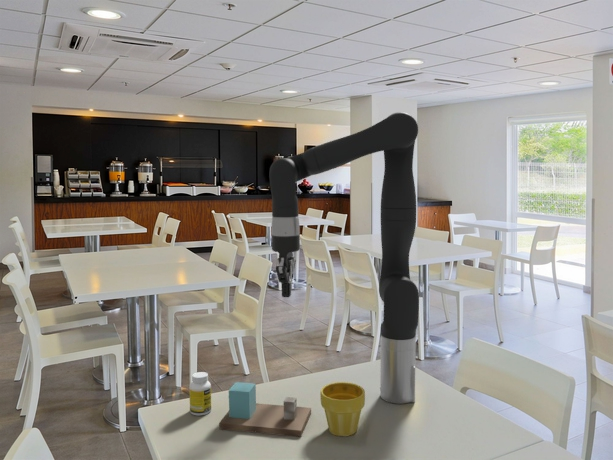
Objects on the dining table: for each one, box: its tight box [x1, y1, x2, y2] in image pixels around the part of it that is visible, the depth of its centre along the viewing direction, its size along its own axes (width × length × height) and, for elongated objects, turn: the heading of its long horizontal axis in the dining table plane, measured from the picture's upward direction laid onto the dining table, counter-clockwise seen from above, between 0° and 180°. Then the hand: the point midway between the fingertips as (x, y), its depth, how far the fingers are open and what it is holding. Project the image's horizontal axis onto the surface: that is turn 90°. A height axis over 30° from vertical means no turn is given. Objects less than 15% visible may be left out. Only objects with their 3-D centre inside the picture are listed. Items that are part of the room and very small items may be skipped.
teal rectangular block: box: [228, 381, 257, 419], centre depth 133 cm, size 5×5×7 cm
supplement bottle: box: [188, 371, 212, 416], centre depth 137 cm, size 5×5×10 cm
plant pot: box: [320, 381, 366, 437], centre depth 127 cm, size 10×10×10 cm
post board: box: [218, 396, 312, 438], centre depth 132 cm, size 20×12×6 cm, turn 78°
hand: (286, 296), depth 147 cm, fingers closed
